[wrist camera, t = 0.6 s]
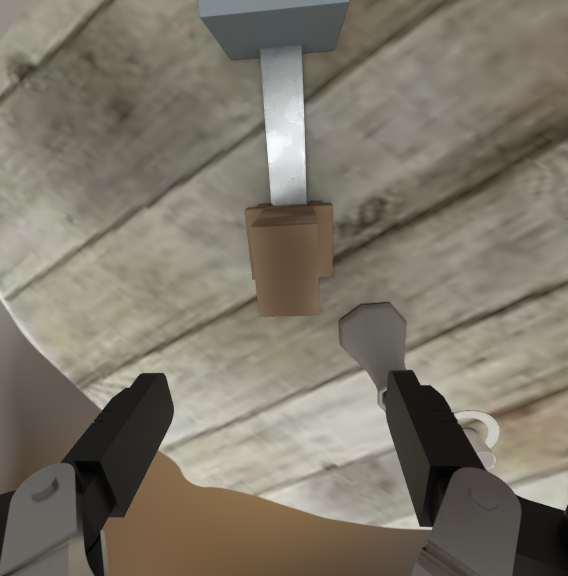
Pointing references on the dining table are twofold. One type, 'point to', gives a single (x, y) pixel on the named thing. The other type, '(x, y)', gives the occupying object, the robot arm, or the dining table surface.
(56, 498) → the robot arm
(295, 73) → the rail
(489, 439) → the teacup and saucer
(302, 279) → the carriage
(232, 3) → the button housing
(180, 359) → the dining table surface
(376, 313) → the flask
